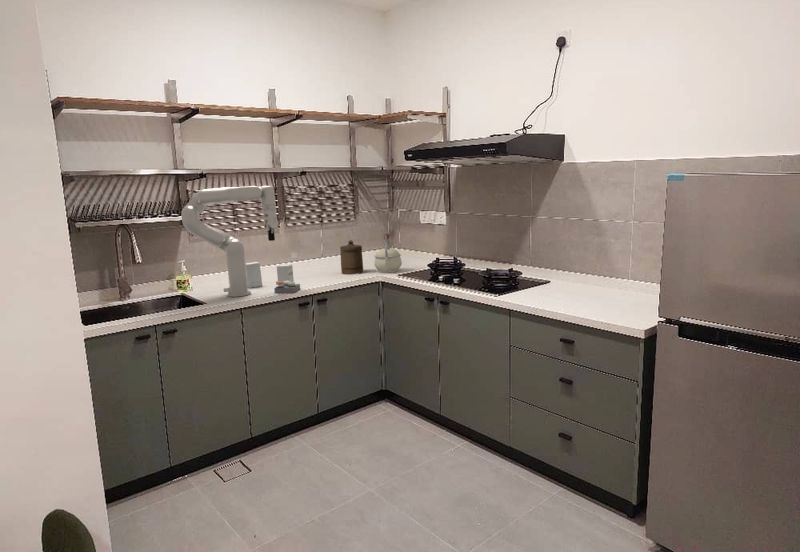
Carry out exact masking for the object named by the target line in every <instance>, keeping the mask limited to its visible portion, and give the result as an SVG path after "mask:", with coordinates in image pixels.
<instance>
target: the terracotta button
mask: <svg viewBox="0 0 800 552" xmlns="http://www.w3.org/2000/svg"><path fill="white" fill-rule="evenodd" d="M282 284H283V281H278V280H277V281H275V285H276V286H278V285H282Z"/></svg>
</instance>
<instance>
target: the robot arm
mask: <svg viewBox="0 0 800 552" xmlns="http://www.w3.org/2000/svg"><path fill="white" fill-rule="evenodd" d="M259 199H260V201H261V211H262V212H263V213H262V217H263V219H262V220H263V227H264V229H266V232H267V238H268V241H269V242H271V241H273V242H274V241H275V240H276V238H275V230H276V228H278V226H279V224H278V218H277V217H278V216H277V212H276V210H277V207H276V196H275V188H274V186H273V185H262V186H257V185H250V186H247V185H246V186H237V187H233V186H231V187H230V186H226V187H218V188H217V187H215V188H204V189H200V190H198V191H197V192H196V193H195V195H194V196H193V197H192V198H191V199H190V200H189V201H188V202H187V204H186V205H185V206H184V207H183V208H182V210H181V212H180V214H181V221H182V225H183V227H184V228H185V229H186V231H187V232H189V233H190V234H191V235H193V236H195V237H197V238H198V239H200V240H202V241H204V242H206V243H208V244H209V245H210V246H213V247H215V248H217V249H219V250H220V251H221V250H222V251H224V252H225V254H226V267H227V274H228V283H229V286H228V288H226V287H224V288H223V292H225V293H226V292H227V297H230V298H231V297H232V298H233V297H235V298H237V297H239V298H240V297H244V296H249V295H251V293H252V291H251V290H248V289H249V287H247V278H246V268H245V264H246V259H245V245H244V243H243V242H242V241H241V240H240V239H238V238H236V237H234V236H233V235H231V234H228V233H227V232H225V231H222V230H221V229H218V228H215V227H213V226H210V225H209V224H207V223H205V222H203V221H201V220H200V218H199V216H200V214H201V213H202V212H203V211H205V209H206V208H207V207H208V206H209V205H211V206H212V205H221V204H222V205H223V204H233V203H236V202H237V203H238V202H245V201H257V200H259Z"/></svg>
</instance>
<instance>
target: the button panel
mask: <svg viewBox="0 0 800 552" xmlns="http://www.w3.org/2000/svg"><path fill="white" fill-rule="evenodd" d="M273 290H274V294H275V293H278V294H294V293H296V292H298V291H299V290H301V284H300V283H295V285H294V286H288V285H284V284H282V285H280V286H278V285H276V286H275V287H274V289H273Z"/></svg>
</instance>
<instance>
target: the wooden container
mask: <svg viewBox="0 0 800 552" xmlns="http://www.w3.org/2000/svg"><path fill="white" fill-rule="evenodd" d="M347 243H348V244H347V245H342V246H340V247H339V249H340V268H341V274H343V275H358V274H362V273H364V261H363V260H364V259H363V251H362V250H363V249H362V247H363V246H362V244H354V241H353V239H352V240H348V242H347ZM357 273H358V274H357Z"/></svg>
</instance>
